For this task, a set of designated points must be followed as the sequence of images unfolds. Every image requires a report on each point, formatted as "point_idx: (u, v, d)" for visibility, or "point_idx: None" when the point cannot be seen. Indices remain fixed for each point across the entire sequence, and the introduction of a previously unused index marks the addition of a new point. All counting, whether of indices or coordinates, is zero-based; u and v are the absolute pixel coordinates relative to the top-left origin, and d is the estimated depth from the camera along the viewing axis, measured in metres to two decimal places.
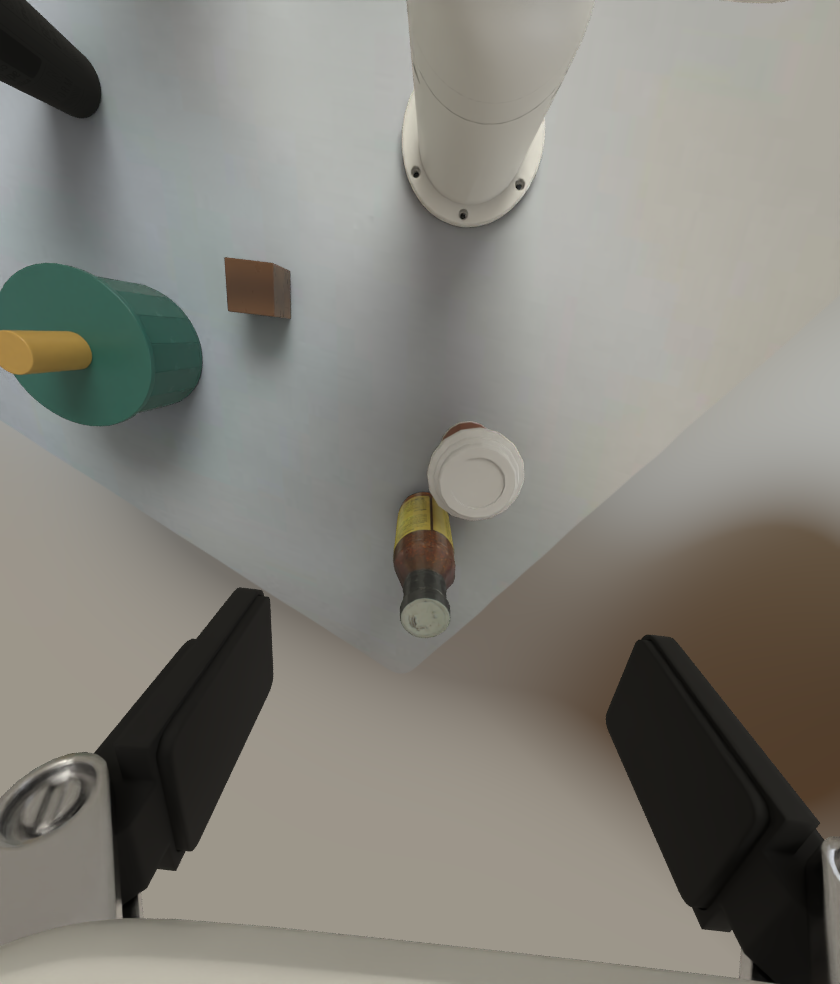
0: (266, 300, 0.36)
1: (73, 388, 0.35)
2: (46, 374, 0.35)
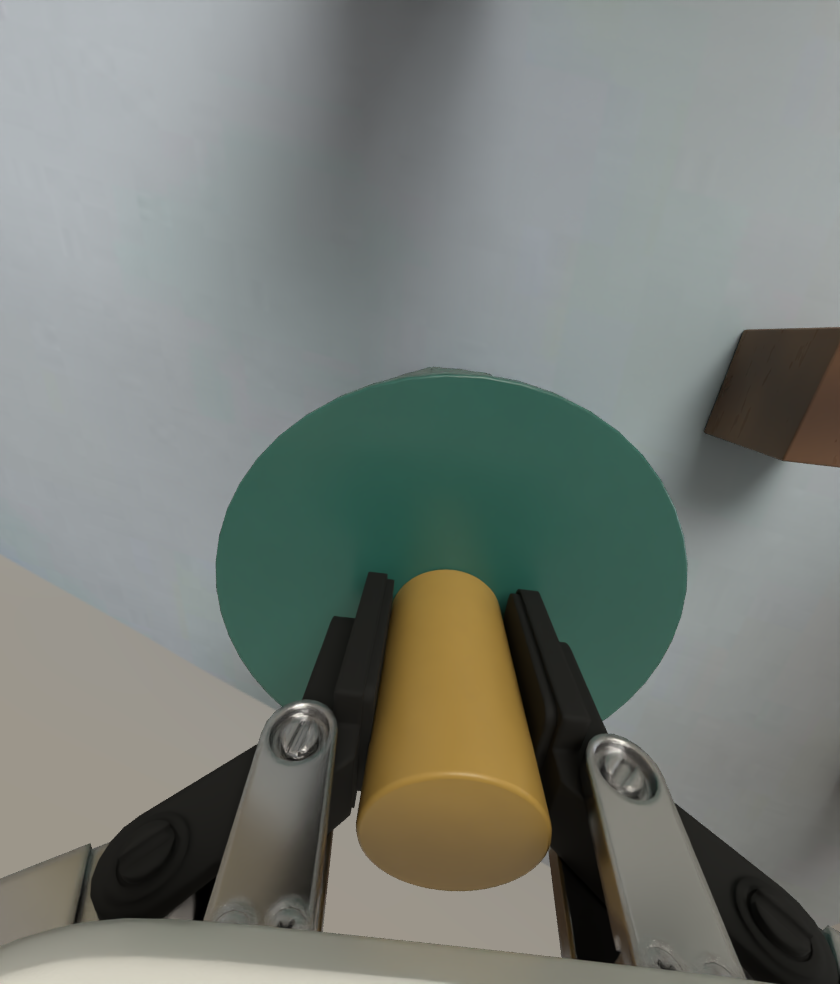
0: None
1: None
2: None
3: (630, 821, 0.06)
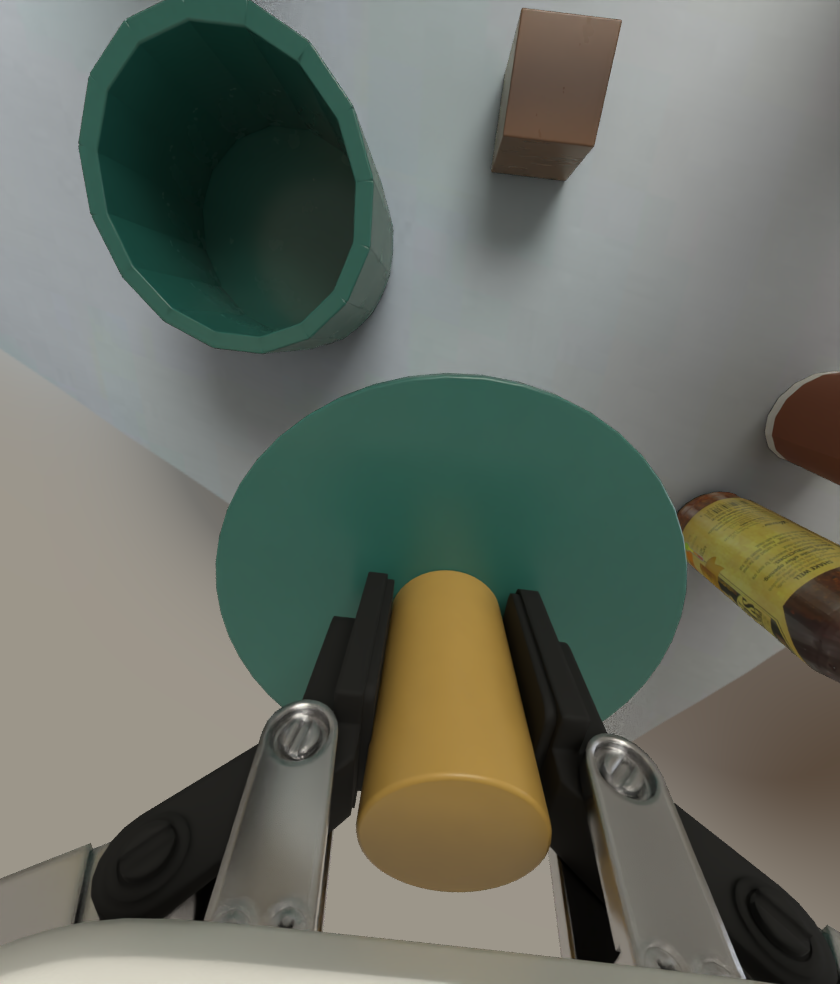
0: (587, 109, 0.18)
1: None
2: None
3: (629, 821, 0.06)
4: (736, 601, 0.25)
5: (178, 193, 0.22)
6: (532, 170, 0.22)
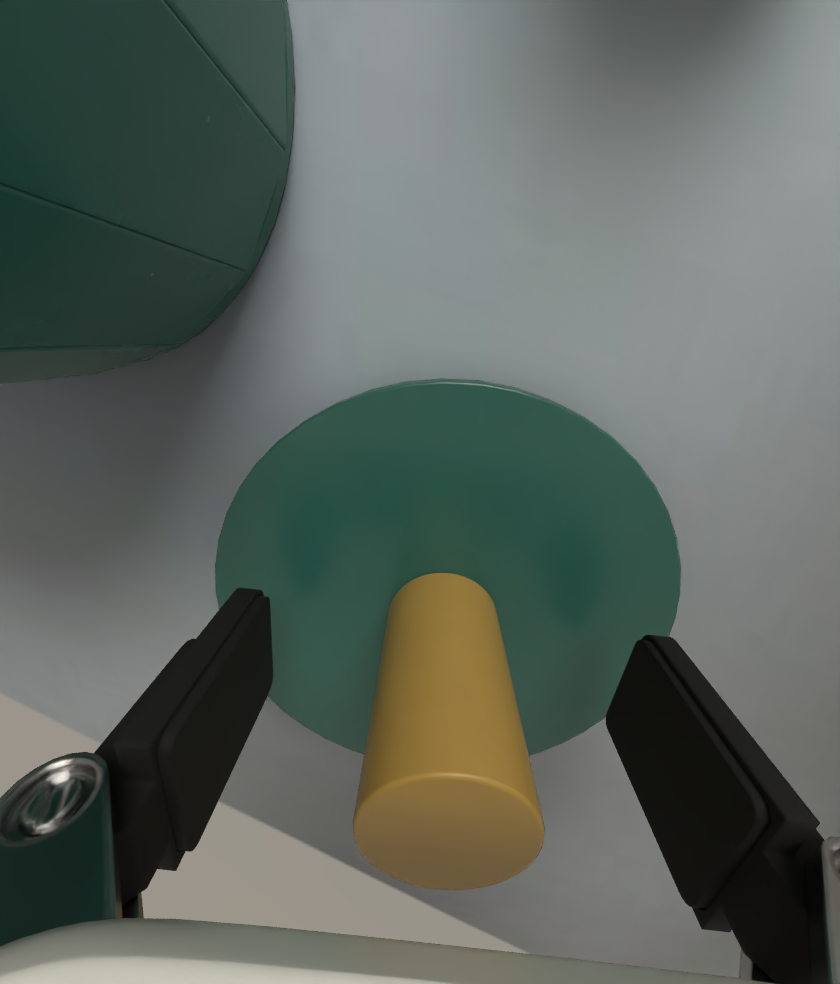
0: None
1: None
2: (337, 665, 0.12)
3: None
4: None
5: None
6: None
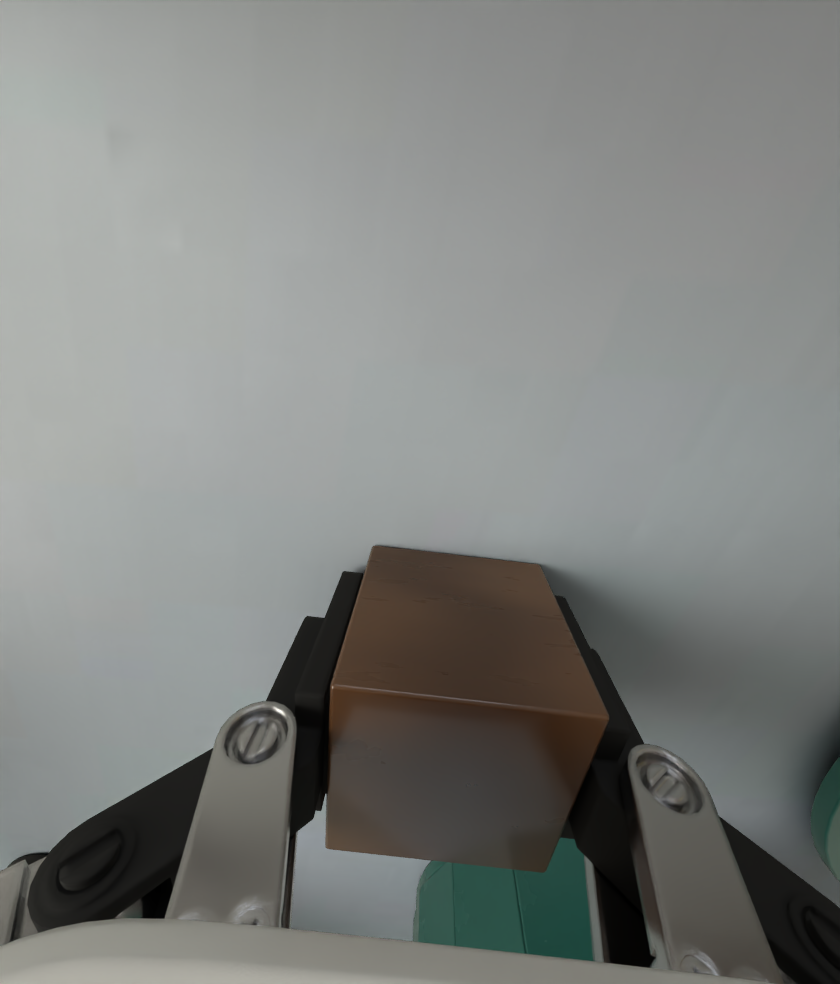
0: (520, 740, 0.06)
1: None
2: None
3: (671, 832, 0.06)
4: None
5: None
6: None
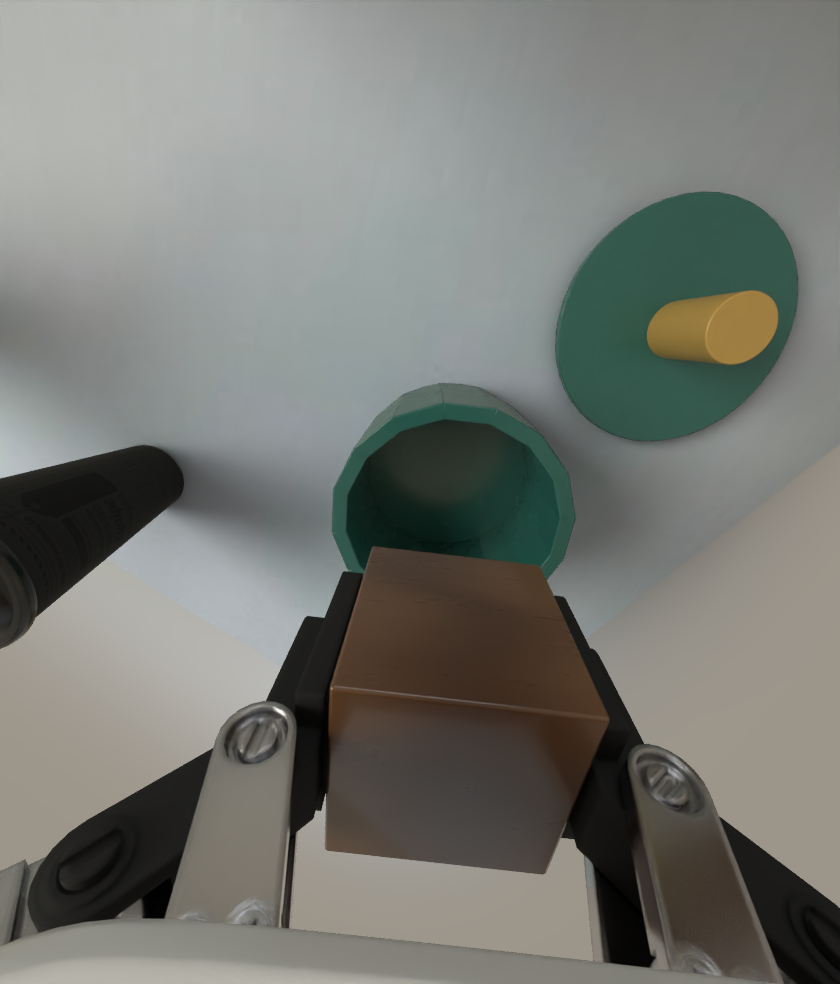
0: (520, 743, 0.06)
1: None
2: (694, 387, 0.24)
3: (671, 832, 0.06)
4: None
5: None
6: None
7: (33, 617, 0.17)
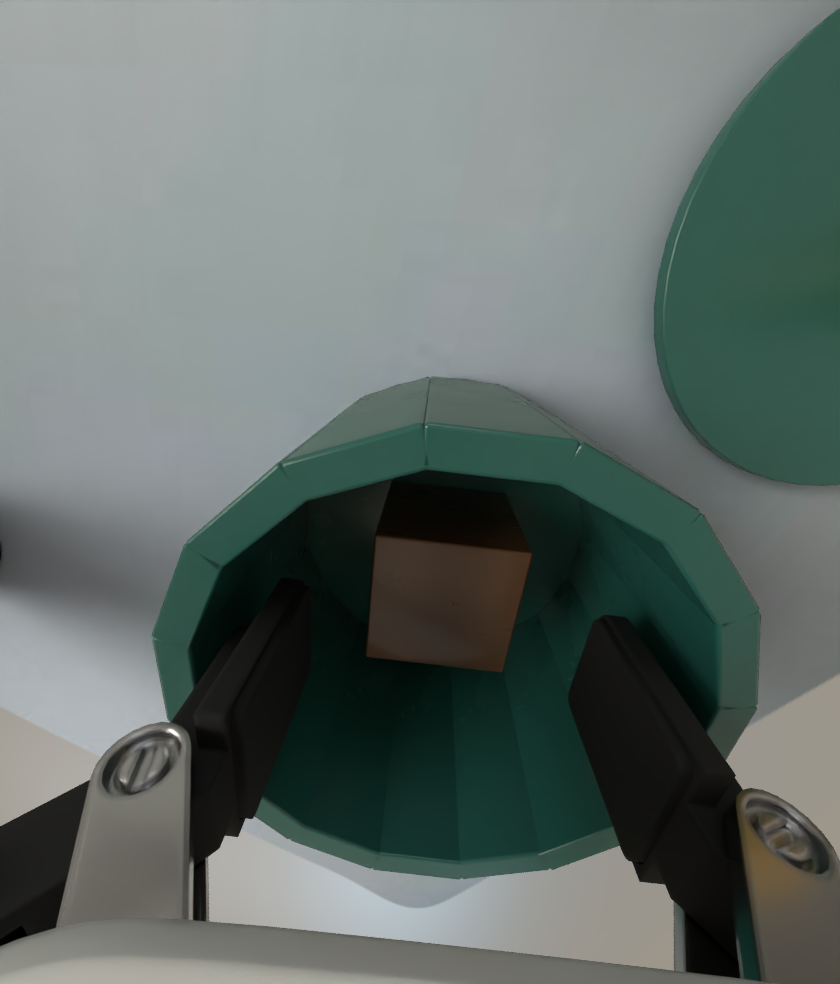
0: (482, 570, 0.11)
1: None
2: None
3: (782, 882, 0.05)
4: None
5: (394, 681, 0.16)
6: None
7: None
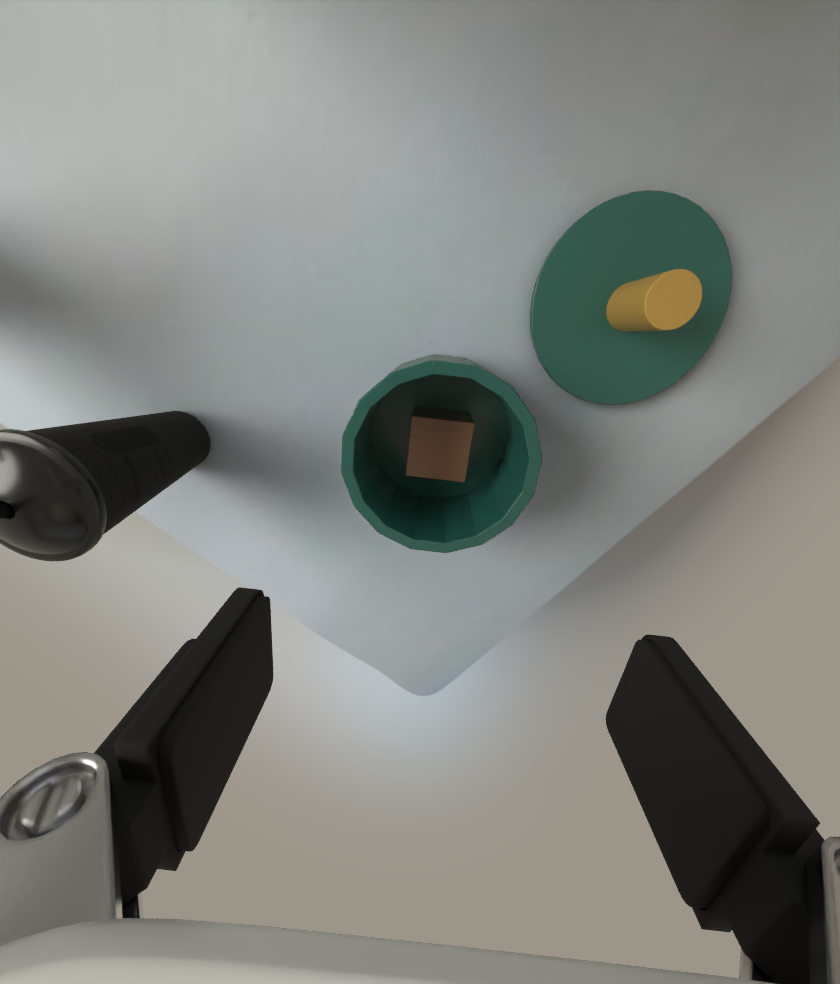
0: (454, 431, 0.27)
1: None
2: (648, 356, 0.28)
3: None
4: None
5: (415, 506, 0.32)
6: None
7: (103, 531, 0.22)
